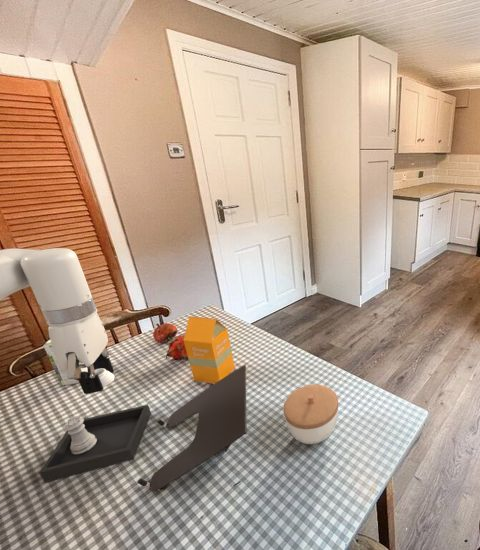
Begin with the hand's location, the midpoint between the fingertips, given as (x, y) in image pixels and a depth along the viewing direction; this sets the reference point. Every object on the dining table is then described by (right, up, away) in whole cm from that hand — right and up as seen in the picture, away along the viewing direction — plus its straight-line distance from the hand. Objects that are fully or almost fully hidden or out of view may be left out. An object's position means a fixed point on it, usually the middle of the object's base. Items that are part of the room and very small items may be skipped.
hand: (100, 382), depth 67 cm
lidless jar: (0, -1, 0) cm, 1 cm away
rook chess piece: (-6, -16, +3) cm, 17 cm away
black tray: (-2, -16, +4) cm, 17 cm away
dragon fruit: (-1, -4, +35) cm, 35 cm away
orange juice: (+12, -7, +27) cm, 30 cm away
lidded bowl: (+46, -15, +7) cm, 49 cm away
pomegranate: (-13, -1, +43) cm, 45 cm away
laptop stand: (+21, -16, +5) cm, 26 cm away
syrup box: (-28, -8, +25) cm, 39 cm away
